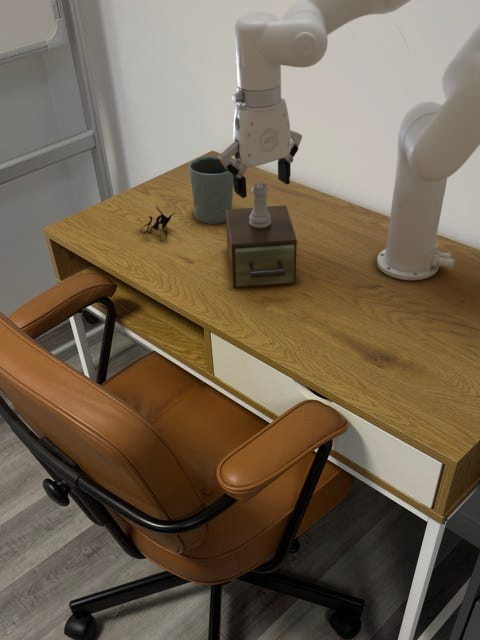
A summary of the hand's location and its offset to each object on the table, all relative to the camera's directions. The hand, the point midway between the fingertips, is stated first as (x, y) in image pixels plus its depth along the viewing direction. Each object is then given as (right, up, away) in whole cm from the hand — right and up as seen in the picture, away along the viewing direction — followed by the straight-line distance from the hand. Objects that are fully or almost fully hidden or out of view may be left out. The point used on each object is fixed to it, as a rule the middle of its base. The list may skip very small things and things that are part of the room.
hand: (262, 188), depth 135 cm
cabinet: (0, -12, +12) cm, 17 cm away
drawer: (0, -14, +8) cm, 17 cm away
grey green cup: (-10, +3, +29) cm, 31 cm away
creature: (-23, -3, +23) cm, 33 cm away
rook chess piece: (0, -5, +5) cm, 8 cm away
